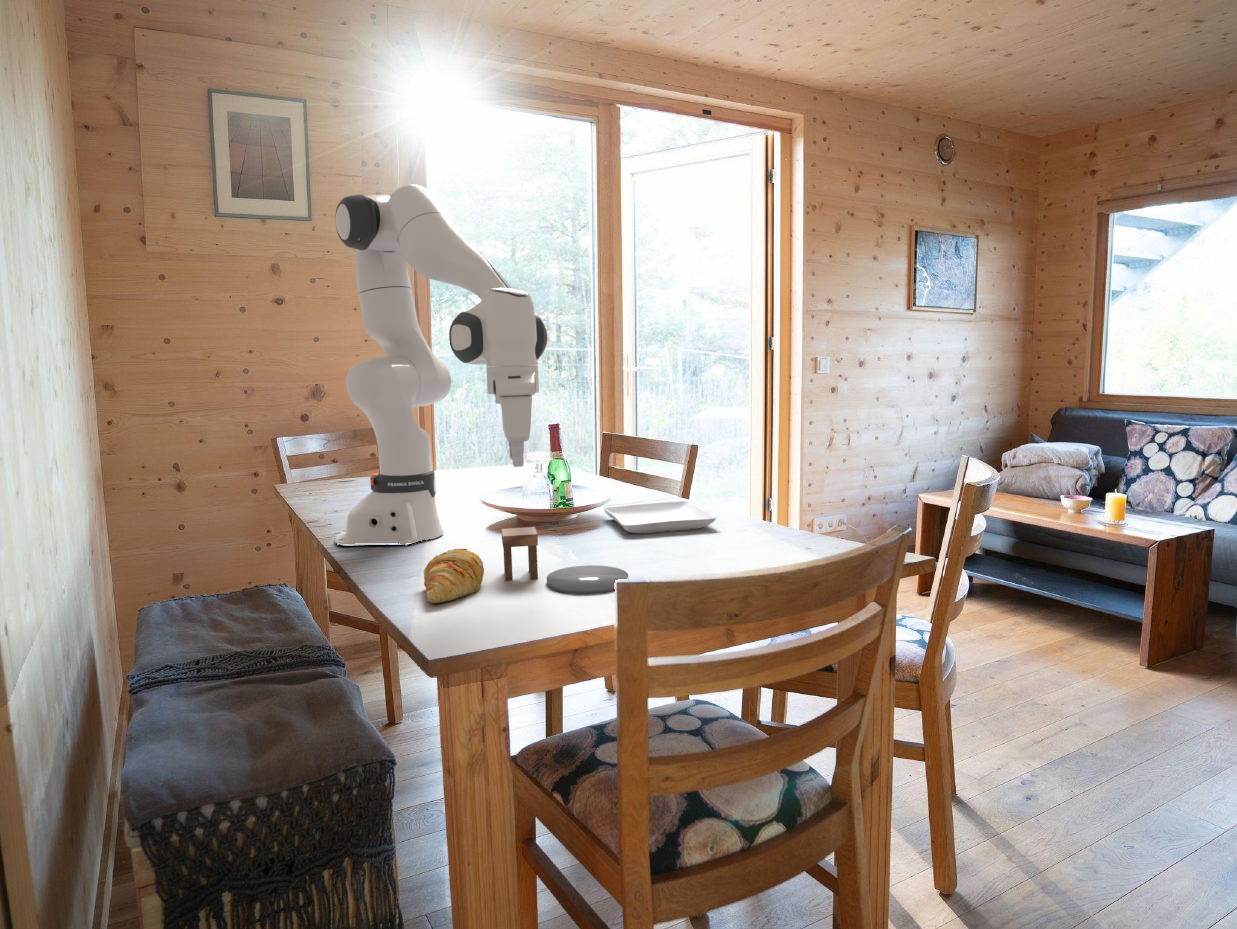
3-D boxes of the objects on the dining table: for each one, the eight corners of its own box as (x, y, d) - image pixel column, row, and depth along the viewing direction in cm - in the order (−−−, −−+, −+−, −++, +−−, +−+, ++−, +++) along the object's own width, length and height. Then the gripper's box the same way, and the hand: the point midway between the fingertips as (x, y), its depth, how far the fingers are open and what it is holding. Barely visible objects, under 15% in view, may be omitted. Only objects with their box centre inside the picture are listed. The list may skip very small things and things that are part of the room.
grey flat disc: (550, 596, 131) (550, 590, 131) (543, 573, 144) (543, 568, 144) (635, 590, 133) (635, 584, 133) (620, 568, 147) (620, 563, 147)
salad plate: (624, 539, 171) (623, 523, 170) (602, 520, 191) (601, 505, 191) (718, 532, 176) (718, 516, 175) (687, 514, 196) (687, 500, 196)
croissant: (451, 630, 126) (472, 587, 125) (395, 600, 127) (415, 557, 125) (488, 587, 147) (506, 550, 146) (439, 562, 148) (457, 525, 146)
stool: (504, 581, 140) (502, 536, 139) (503, 572, 146) (501, 528, 145) (539, 578, 141) (537, 534, 140) (536, 569, 147) (534, 526, 146)
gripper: (493, 382, 149) (496, 456, 150) (496, 385, 129) (500, 471, 130) (527, 381, 150) (530, 455, 151) (535, 384, 130) (539, 469, 131)
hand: (516, 462), depth 141 cm, fingers open, 8 cm apart
